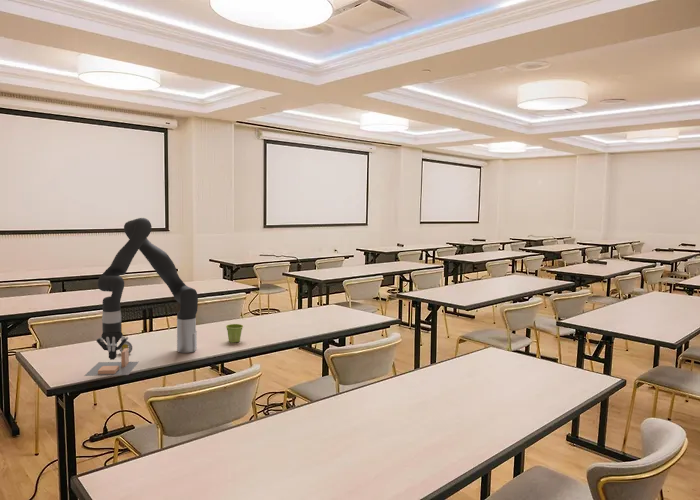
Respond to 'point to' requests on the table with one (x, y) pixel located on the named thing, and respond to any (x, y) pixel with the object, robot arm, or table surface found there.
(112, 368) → the tile near
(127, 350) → the tile far
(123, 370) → the slate board
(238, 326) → the plant pot
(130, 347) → the pocket watch
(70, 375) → the table surface
